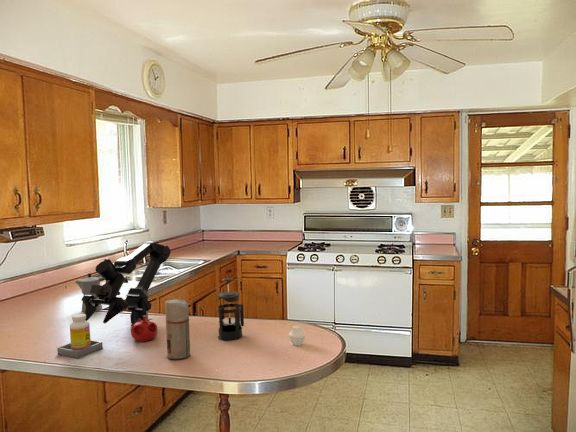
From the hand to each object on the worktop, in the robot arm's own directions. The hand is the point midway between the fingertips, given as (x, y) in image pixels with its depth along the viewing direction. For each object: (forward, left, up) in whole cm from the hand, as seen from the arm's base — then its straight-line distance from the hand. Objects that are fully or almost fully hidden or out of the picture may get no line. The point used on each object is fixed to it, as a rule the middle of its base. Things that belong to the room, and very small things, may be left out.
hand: (94, 322), depth 180 cm
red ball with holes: (-17, -4, -9) cm, 20 cm away
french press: (-51, -2, -9) cm, 52 cm away
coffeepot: (+19, -51, -9) cm, 55 cm away
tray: (+3, +7, -9) cm, 12 cm away
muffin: (-76, +10, -9) cm, 78 cm away
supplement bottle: (+3, +7, -8) cm, 11 cm away
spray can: (-34, +16, -9) cm, 39 cm away
